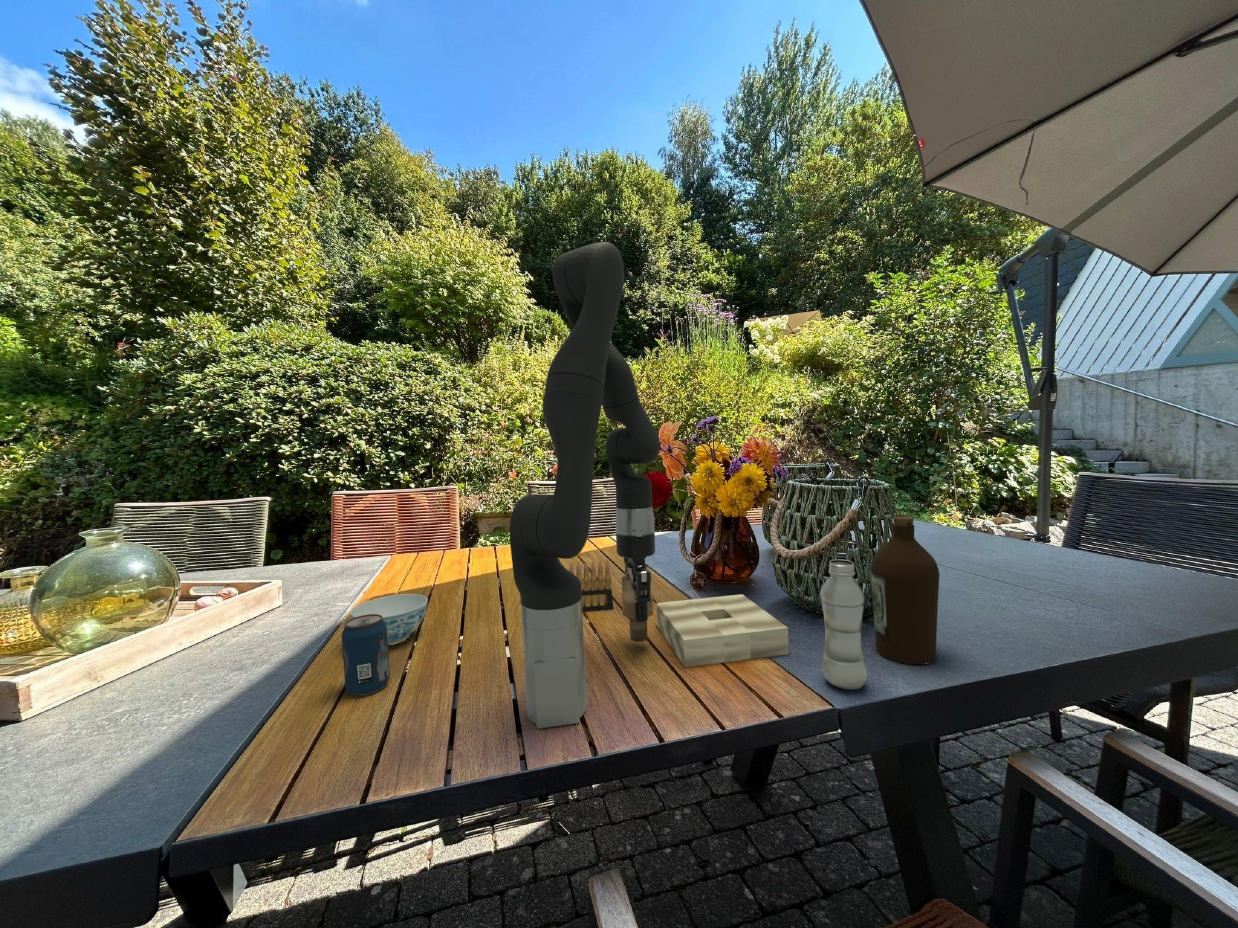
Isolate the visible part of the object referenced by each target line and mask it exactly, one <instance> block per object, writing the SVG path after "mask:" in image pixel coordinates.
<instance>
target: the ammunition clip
mask: <svg viewBox="0 0 1238 928" xmlns="http://www.w3.org/2000/svg"><path fill="white" fill-rule="evenodd" d="M604 565H605V566H603V563H602V561H601V560H599V561H598V565H597V570H596V564H595V562H594V560H593V561H592V562H591V565H590V568H589V565H588V562H587V561H585V562H584V564H583V575H582V567H581V564H580V562H577V564H576V574H575V570H574V565H573V563H572V562H570V563H569V568H568V571H570V572H571V573H572V574H574V575H575V576H577V577H578V579H579V580H580V583H581V591H582V613H586V612H587V613H589V612H601V611H612V610H614V600H613V599H614V598H613V585H612V583H613V582H612V574H611V567H610V563H609V561H608V560H606V562H605V564H604ZM603 567H605V568H603ZM589 569H590V570H589ZM604 570H605V571H604ZM589 571H590V573H589Z"/></svg>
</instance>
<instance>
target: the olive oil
mask: <svg viewBox="0 0 1238 928" xmlns="http://www.w3.org/2000/svg"><path fill="white" fill-rule="evenodd" d="M914 519H915V518H914V517H912V516H908V515H896V516H893V517H892V520H893V521H892V522H893V523H892V536H891V538H890V540H889V541H887V542H886V543H885V544H884V545H883V546H882V547H881V548H879V550H877V551H876V553H875V554H874V556H873V557H872V560H871V564H870V579H871V590H872V591H871V592H872V593H871V594H872V604H873V619H874V635H875V636H874V637H875V650H876V652H877V653H878V654H879V655H880V656H882V657H883V658H886V659H888V660H889V661H893V662H896V663H900V664H903V663H904V665H910V664H925V663H929V662H932V661H934V660H935V659H936V658H937V639H938V638H937V635H938V632H937V630H938V612H939V611H938V610H939V609H938V607H939V589H940V570H939V567H938V564H937V561H936V560H935V558H934V556H933V555H931V554H930V553H929V551H927V549H925V548H924V546H923V545H921V543H919V542H918V541H917V539H916V538H915V524H914ZM935 661H936V660H935ZM935 661H934V662H935ZM932 663H933V662H932Z"/></svg>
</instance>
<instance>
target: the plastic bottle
mask: <svg viewBox="0 0 1238 928" xmlns="http://www.w3.org/2000/svg"><path fill="white" fill-rule="evenodd" d="M828 564H829V567H828V574H830V575H829V577H828V578H827V580H826V581H825V582H824V584H823V585H822V586H821V589H820V600H821V607H822V612H823V619H824V630H825V631H824V632H825V635H824V636H825V637H824V652H823V655H822V663H821V667H822V672H823V675H824V678H825V679H826V681H827V682H828V683H829V684H830V685H832V686H833V687H836V688H838V689H842V690H851V691H853V690H854V691H855V690H860V689H861V688H863V686H864V685H865V684H866V680H867V675H868V672H867V666H866V664H867V663H866V661H865V657H864V649H863V641H862V628H863V626H862V625H863V617H864V610H865V609H864V607H865V594H864V591H863V589H862V588H861V586H860V584H858V583H859V582H857V581H856V579H855V578H854V576H856V571H855V563H854V562H853V561H851V560H848V559H847V560H846V559H831V560H829V563H828Z"/></svg>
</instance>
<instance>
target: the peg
mask: <svg viewBox="0 0 1238 928" xmlns="http://www.w3.org/2000/svg"><path fill="white" fill-rule="evenodd" d="M634 584H635V585H636V582H635V581H634ZM653 588H654V587H653V576H651V600H650V602H647V614H648V618H650V617H652V616H653V614H654V594H653V590H654V589H653ZM641 595H644V591H640V596H641ZM621 600H622V601H621V604H622V616H624V617H626V618H629V638H630V641H632V642H635V643H642V642H645V641H647V640H648V620H647V621H646V622H637V621H636V618H635V601H634V591H633V590H631V582H630V578H629V576H626V575H625V574H624V575H623V576H621Z"/></svg>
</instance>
